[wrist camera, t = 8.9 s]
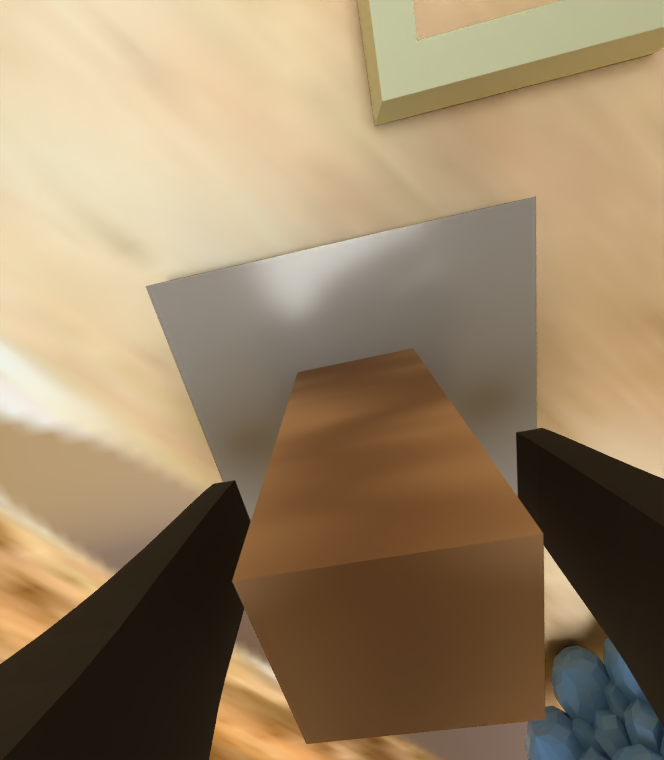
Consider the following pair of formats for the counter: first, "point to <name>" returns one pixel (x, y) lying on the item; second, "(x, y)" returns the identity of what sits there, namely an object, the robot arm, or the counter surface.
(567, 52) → the pocket holder
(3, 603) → the counter surface
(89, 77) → the counter surface
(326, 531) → the walnut block
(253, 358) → the grey metal plate
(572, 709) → the grapes
